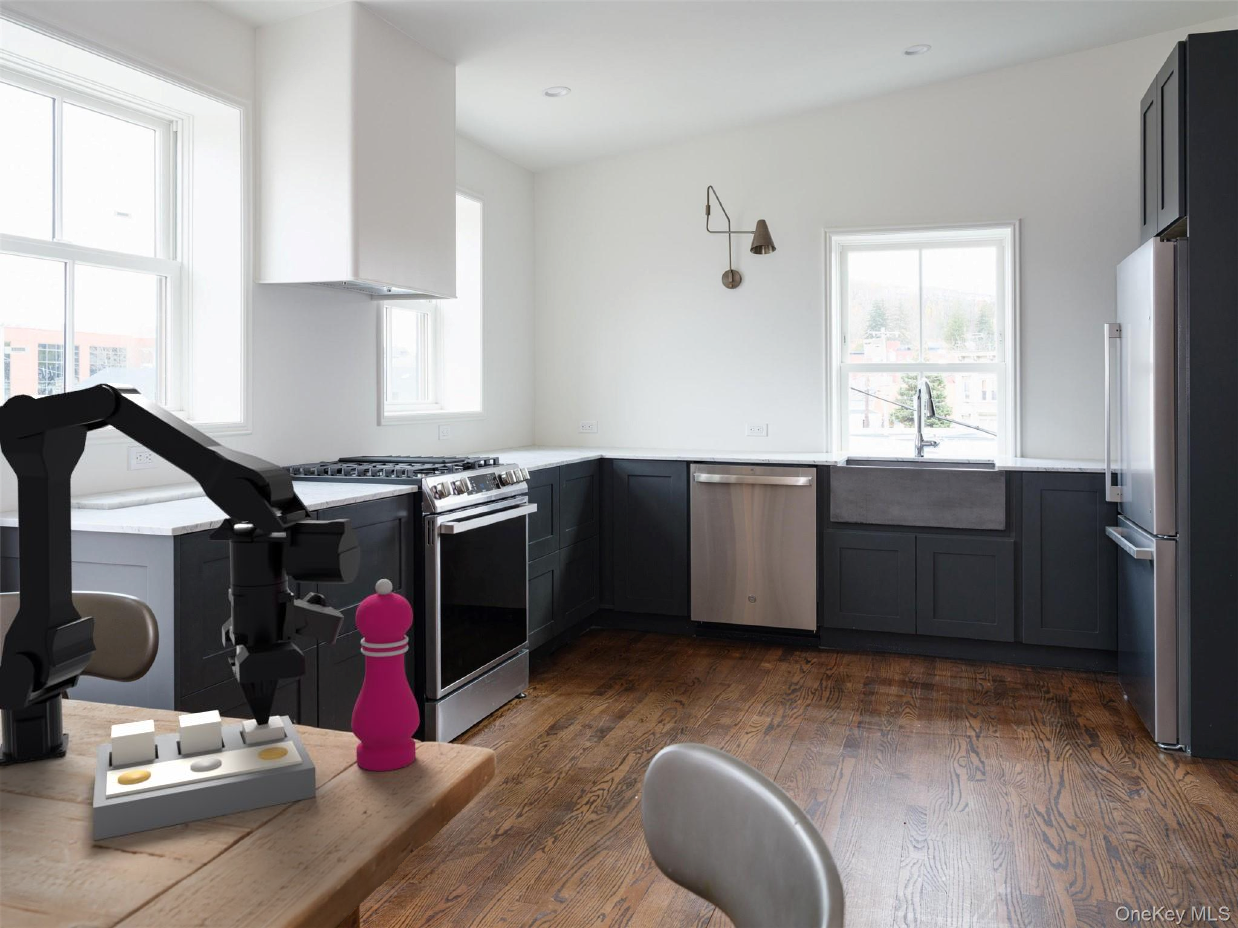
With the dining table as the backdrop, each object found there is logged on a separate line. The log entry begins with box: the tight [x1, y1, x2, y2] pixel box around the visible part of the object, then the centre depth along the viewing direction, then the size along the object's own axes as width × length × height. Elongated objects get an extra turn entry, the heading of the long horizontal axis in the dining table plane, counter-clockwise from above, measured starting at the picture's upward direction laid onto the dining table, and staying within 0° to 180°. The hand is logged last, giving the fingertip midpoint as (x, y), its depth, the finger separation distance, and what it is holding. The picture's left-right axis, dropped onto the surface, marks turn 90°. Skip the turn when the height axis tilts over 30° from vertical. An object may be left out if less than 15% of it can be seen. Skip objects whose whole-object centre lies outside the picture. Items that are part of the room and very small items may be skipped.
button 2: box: [241, 715, 284, 744], centre depth 98 cm, size 4×4×3 cm
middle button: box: [178, 709, 222, 755], centre depth 95 cm, size 4×4×3 cm
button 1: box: [110, 719, 156, 766], centre depth 92 cm, size 4×4×3 cm
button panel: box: [92, 715, 317, 842], centre depth 92 cm, size 17×19×4 cm
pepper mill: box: [350, 578, 421, 772], centre depth 98 cm, size 7×7×20 cm
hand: (262, 723), depth 98 cm, fingers closed, pressing on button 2
